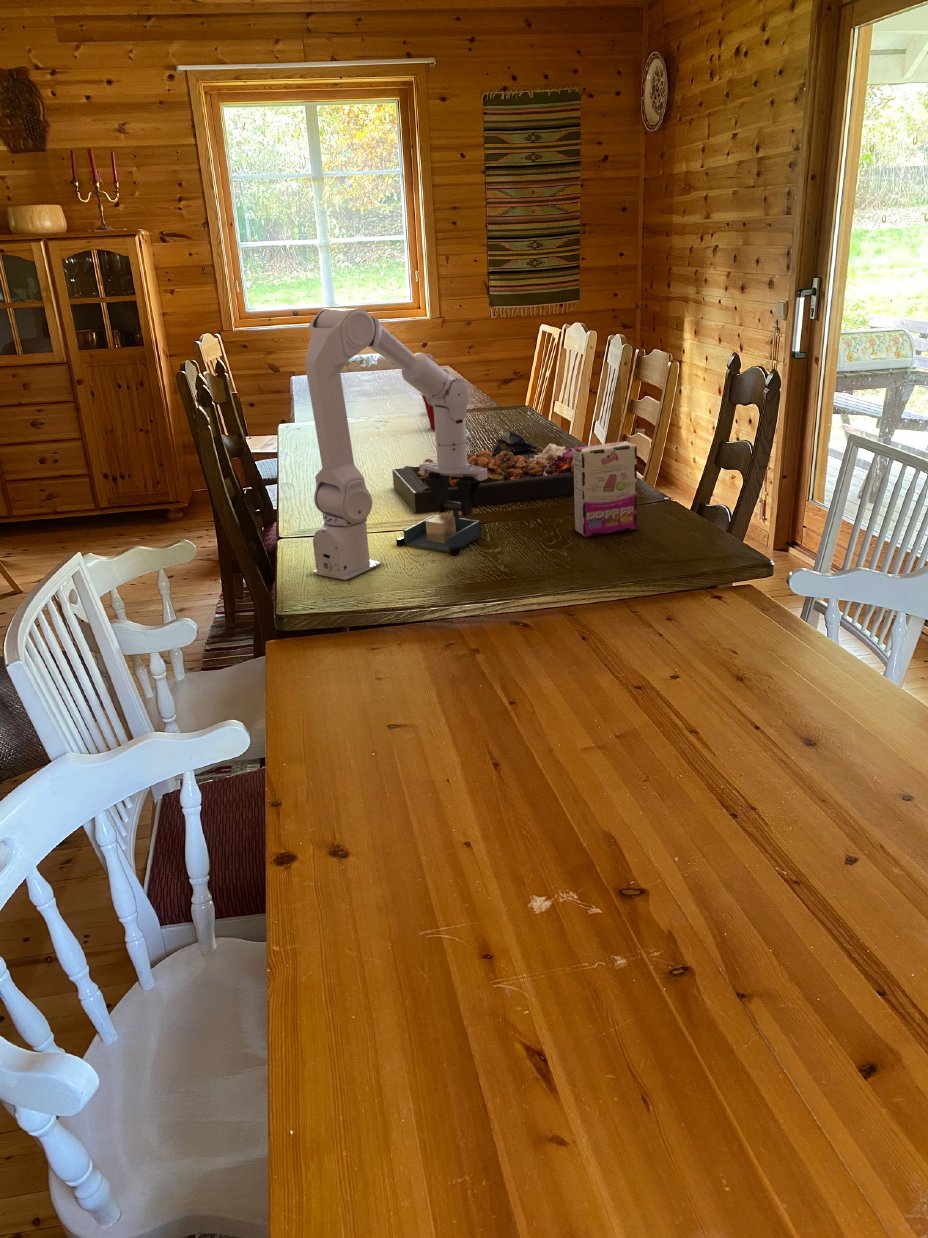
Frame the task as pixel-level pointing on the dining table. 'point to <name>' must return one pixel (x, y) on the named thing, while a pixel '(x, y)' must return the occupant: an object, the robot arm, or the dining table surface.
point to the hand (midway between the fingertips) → (455, 513)
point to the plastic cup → (429, 412)
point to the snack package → (512, 443)
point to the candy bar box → (605, 488)
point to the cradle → (454, 550)
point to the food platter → (497, 479)
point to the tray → (463, 536)
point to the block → (440, 528)
